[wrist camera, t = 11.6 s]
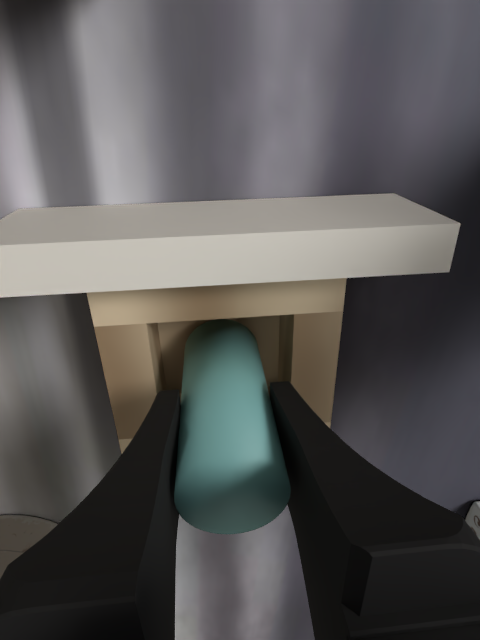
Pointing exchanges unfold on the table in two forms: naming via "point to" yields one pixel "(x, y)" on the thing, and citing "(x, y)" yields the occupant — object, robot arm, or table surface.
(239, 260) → the board
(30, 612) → the robot arm
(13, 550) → the thermos bottle
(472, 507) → the skincare box
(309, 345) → the socket block
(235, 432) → the dowel
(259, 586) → the table surface
